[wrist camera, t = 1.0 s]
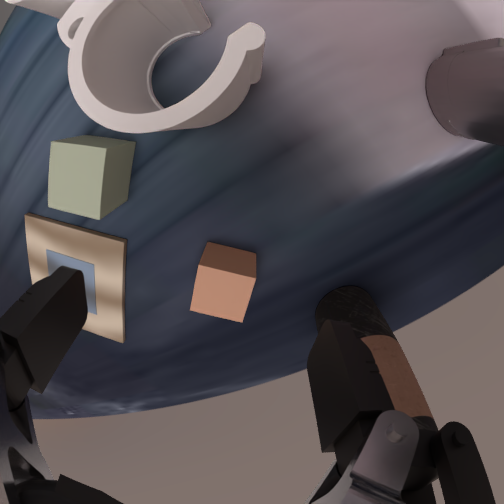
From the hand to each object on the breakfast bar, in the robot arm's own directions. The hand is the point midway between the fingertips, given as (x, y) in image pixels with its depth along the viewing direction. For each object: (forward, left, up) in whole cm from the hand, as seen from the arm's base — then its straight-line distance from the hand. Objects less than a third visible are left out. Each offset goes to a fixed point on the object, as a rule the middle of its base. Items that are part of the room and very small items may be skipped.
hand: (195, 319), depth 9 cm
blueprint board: (+16, -18, -19) cm, 30 cm away
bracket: (-13, -12, -19) cm, 27 cm away
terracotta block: (+9, +1, -19) cm, 21 cm away
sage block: (+1, -13, -19) cm, 23 cm away
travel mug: (+11, +15, -19) cm, 27 cm away
